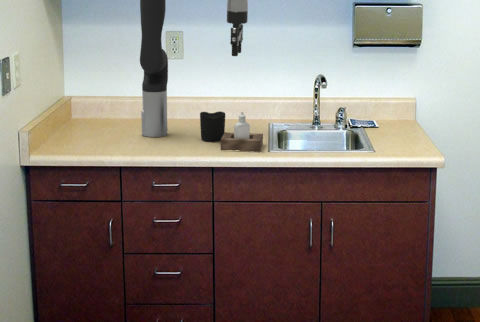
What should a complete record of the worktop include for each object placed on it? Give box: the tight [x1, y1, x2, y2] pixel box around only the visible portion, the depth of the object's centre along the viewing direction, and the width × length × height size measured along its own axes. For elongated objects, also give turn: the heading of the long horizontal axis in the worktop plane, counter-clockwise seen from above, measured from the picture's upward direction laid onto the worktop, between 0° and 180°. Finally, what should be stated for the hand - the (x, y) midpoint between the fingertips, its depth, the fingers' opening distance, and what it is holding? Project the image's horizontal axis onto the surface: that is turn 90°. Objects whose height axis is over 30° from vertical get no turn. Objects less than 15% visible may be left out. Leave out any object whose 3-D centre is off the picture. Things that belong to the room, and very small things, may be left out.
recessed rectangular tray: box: [220, 131, 264, 152], centre depth 279 cm, size 14×11×4 cm
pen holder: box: [199, 110, 226, 143], centre depth 289 cm, size 9×9×10 cm
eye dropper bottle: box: [233, 111, 251, 139], centre depth 277 cm, size 4×6×12 cm
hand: (236, 54), depth 285 cm, fingers open, 8 cm apart
